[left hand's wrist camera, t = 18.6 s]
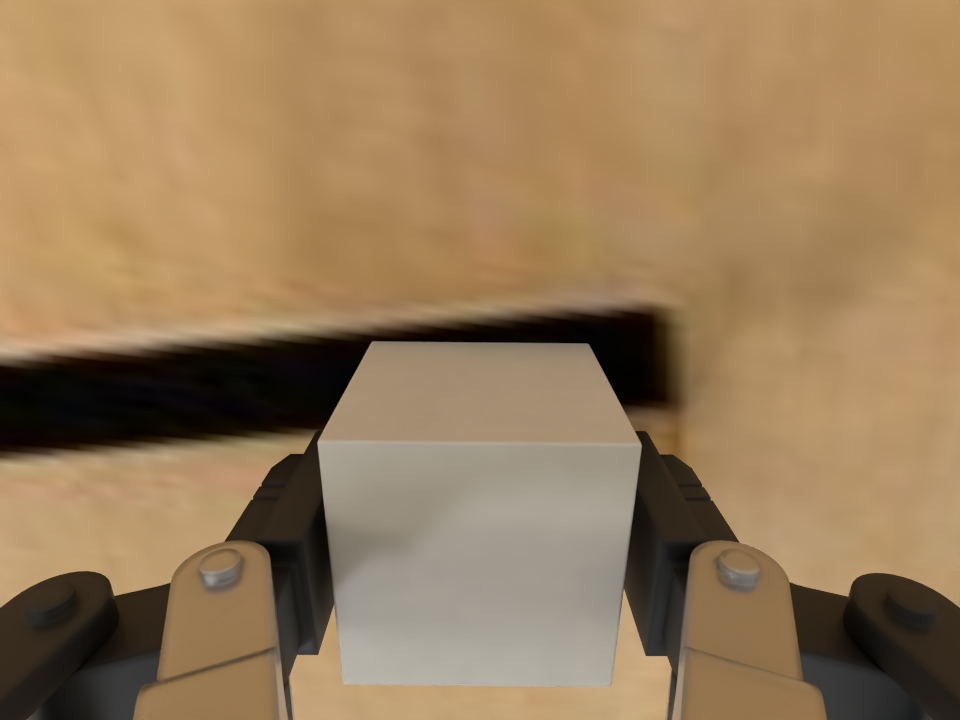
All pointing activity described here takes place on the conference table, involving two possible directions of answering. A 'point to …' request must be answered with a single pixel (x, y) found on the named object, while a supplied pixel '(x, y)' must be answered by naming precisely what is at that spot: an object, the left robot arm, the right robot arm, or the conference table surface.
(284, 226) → the conference table surface
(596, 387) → the block
